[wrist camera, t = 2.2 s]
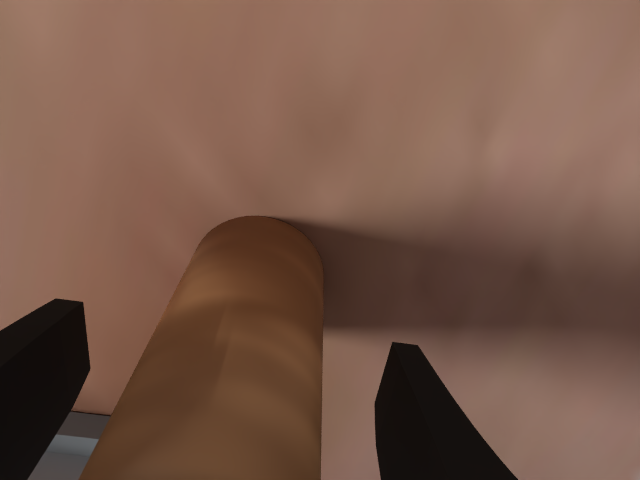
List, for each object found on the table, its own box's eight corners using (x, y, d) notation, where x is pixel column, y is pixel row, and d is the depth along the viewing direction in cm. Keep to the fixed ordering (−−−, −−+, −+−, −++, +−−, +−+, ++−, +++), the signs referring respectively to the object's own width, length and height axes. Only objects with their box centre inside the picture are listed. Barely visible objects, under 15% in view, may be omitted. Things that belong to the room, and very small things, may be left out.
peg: (333, 226, 13) (339, 485, 6) (313, 334, 15) (301, 626, 8) (194, 206, 13) (40, 451, 6) (191, 318, 15) (71, 605, 8)
